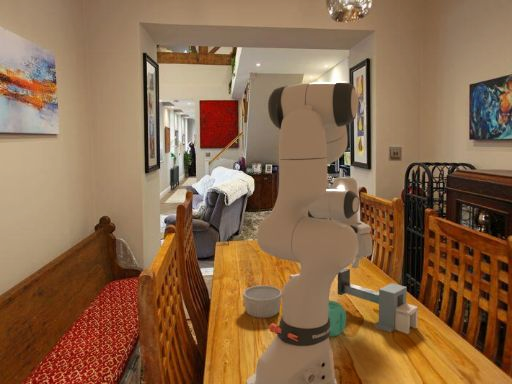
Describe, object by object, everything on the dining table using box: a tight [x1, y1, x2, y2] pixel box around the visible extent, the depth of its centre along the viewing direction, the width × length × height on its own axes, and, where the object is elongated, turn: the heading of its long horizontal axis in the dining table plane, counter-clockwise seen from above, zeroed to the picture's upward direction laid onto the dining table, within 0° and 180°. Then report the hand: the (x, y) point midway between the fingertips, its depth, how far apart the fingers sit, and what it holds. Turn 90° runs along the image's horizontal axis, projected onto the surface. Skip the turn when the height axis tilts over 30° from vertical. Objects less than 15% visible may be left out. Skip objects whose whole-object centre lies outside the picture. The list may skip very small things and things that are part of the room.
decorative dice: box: [328, 300, 347, 338], centre depth 115 cm, size 8×8×8 cm
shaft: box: [337, 267, 379, 305], centre depth 125 cm, size 5×20×8 cm, turn 42°
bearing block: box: [374, 282, 408, 333], centre depth 119 cm, size 12×5×12 cm, turn 131°
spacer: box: [394, 302, 419, 335], centre depth 115 cm, size 6×4×7 cm, turn 132°
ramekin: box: [242, 284, 282, 319], centre depth 130 cm, size 13×13×7 cm
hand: (343, 264), depth 131 cm, fingers open, 8 cm apart
